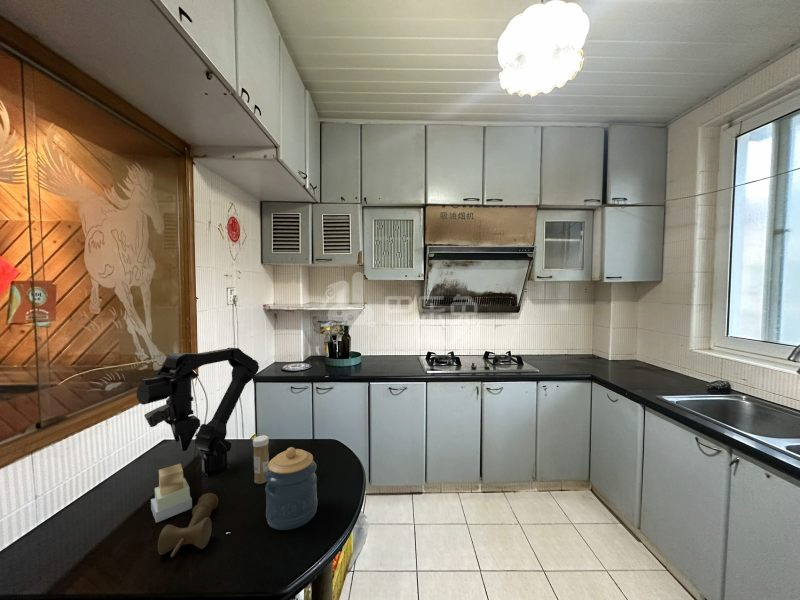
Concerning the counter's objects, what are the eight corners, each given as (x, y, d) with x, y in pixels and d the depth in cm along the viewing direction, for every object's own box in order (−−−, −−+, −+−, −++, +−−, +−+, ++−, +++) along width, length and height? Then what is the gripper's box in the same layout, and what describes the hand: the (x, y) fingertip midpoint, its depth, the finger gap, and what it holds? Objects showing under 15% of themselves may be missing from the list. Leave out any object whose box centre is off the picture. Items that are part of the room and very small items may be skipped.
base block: (185, 496, 94) (185, 486, 94) (192, 509, 89) (191, 498, 89) (151, 510, 89) (150, 499, 89) (156, 524, 83) (155, 512, 83)
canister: (303, 492, 94) (301, 433, 94) (327, 513, 85) (325, 447, 85) (257, 514, 85) (256, 448, 85) (279, 540, 76) (277, 466, 76)
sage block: (185, 488, 94) (184, 477, 94) (189, 499, 88) (189, 488, 88) (154, 498, 89) (154, 488, 89) (158, 510, 84) (157, 499, 84)
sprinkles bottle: (271, 481, 101) (269, 438, 101) (255, 486, 98) (254, 442, 98) (268, 474, 105) (266, 433, 104) (252, 479, 102) (251, 437, 102)
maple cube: (181, 480, 92) (180, 463, 92) (183, 488, 88) (182, 470, 88) (159, 487, 89) (158, 469, 89) (160, 496, 85) (160, 477, 85)
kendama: (228, 509, 89) (196, 566, 69) (190, 515, 87) (146, 575, 67) (227, 487, 89) (195, 538, 69) (189, 492, 87) (145, 547, 67)
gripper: (141, 394, 99) (142, 445, 99) (152, 408, 85) (153, 466, 85) (184, 387, 107) (185, 434, 106) (200, 398, 93) (201, 452, 93)
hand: (180, 446), depth 98 cm, fingers open, 9 cm apart
